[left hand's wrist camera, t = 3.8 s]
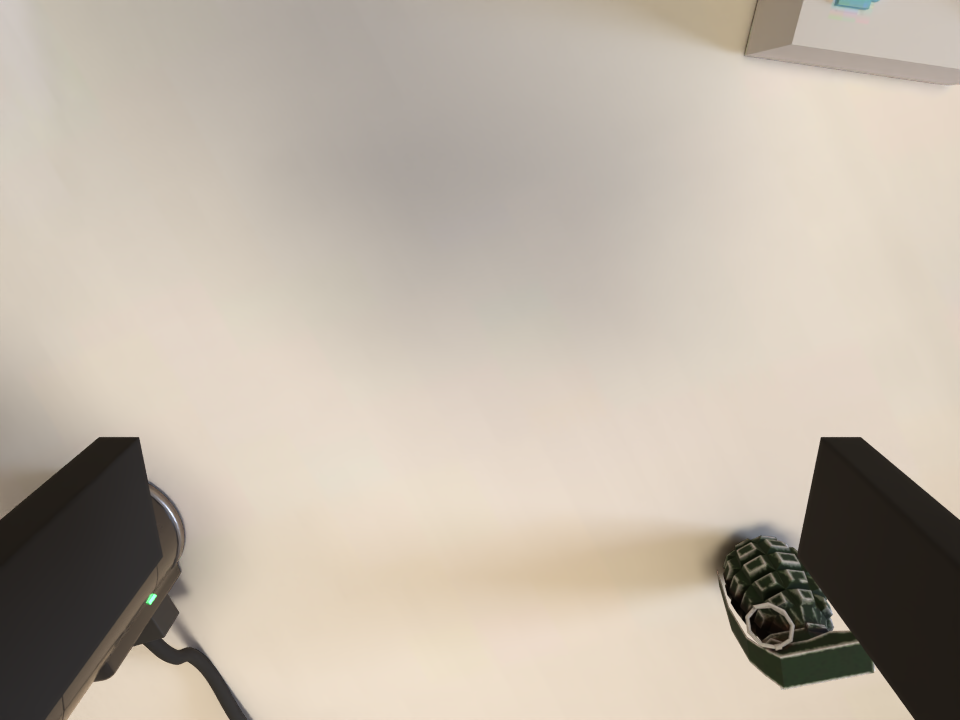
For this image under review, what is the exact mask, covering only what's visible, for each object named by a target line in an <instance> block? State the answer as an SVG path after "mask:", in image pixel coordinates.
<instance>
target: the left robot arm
mask: <svg viewBox="0 0 960 720" xmlns="http://www.w3.org/2000/svg"><path fill="white" fill-rule="evenodd" d="M162 558H163V553H162V548H161V543H160V538H159V533H158V528H157V524H156V519H155V514H154V509H153V504H152V499H151V494H150V489H149V484H148V479H147V474H146V469H145V464H144V459H143V455H142V450H141V445H140V440H139V437H99V438H98V439H96V440H95V441H94V442H93V443H92V444H91V445H89V446H88V447H87V448H86V449H85V450H83V451H82V452H81V453H80V454H79V455H77V456H76V457H75V458H74V459H73V460H71V461H70V462H69V463H68V464H67V465H65V466H64V467H63V468H62V469H61V470H59V471H58V472H57V473H56V474H55V475H53V476H52V477H51V478H50V479H49V480H47V481H46V482H45V483H44V484H43V485H42V486H40V487H39V488H38V489H37V490H36V491H34V492H33V493H32V494H31V495H30V496H28V497H27V498H26V499H25V500H24V501H22V502H21V503H20V504H19V505H18V506H16V507H15V508H14V509H13V510H12V511H10V512H9V513H8V514H7V515H6V516H4V517H3V518H2V519H1V520H0V720H45V719H46V718H47V716H48V715H49V714H50V712H51V711H52V710H53V708H54V707H55V705H56V704H57V703H58V701H59V700H60V699H61V697H62V696H63V694H64V693H65V692H66V690H67V689H68V687H69V686H70V685H71V683H72V682H73V681H74V679H75V678H76V676H77V675H78V674H79V672H80V671H81V669H82V668H83V667H84V665H85V664H86V663H87V661H88V660H89V658H90V657H91V656H92V654H93V653H94V652H95V650H96V649H97V647H98V646H99V645H100V643H101V642H102V640H103V639H104V638H105V636H106V635H107V634H108V632H109V631H110V629H111V628H112V627H113V625H114V624H115V622H116V621H117V620H118V618H119V617H120V616H121V614H122V613H123V611H124V610H125V609H126V607H127V606H128V605H129V603H130V602H131V600H132V599H133V598H134V596H135V595H136V593H137V592H138V591H139V589H140V588H141V587H142V585H143V584H144V582H145V581H146V580H147V578H148V577H149V575H150V574H151V573H152V571H153V570H154V569H155V567H156V566H157V564H158V563H159V562H160V560H161V559H162ZM797 558H798V559H799V560H800V562H801V563H802V564H803V566H804V567H805V569H806V570H807V571H808V573H809V574H810V575H811V577H812V578H813V580H814V581H815V582H816V584H817V585H818V587H819V588H820V589H821V591H822V592H823V593H824V595H825V596H826V598H827V599H828V600H829V602H830V603H831V605H832V606H833V607H834V609H835V610H836V611H837V613H838V614H839V616H840V617H841V618H842V620H843V621H844V622H845V624H846V625H847V627H848V628H849V629H850V631H851V632H852V634H853V635H854V636H855V638H856V639H857V640H858V642H859V643H860V645H861V646H862V647H863V649H864V650H865V652H866V653H867V654H868V656H869V657H870V658H871V660H872V661H873V663H874V664H875V665H876V667H877V668H878V669H879V671H880V672H881V674H882V675H883V676H884V678H885V679H886V681H887V682H888V683H889V685H890V686H891V687H892V689H893V690H894V692H895V693H896V694H897V696H898V697H899V699H900V700H901V701H902V703H903V704H904V705H905V707H906V708H907V710H908V711H909V712H910V714H911V715H912V716H913V718H914V719H915V720H960V520H959V519H958V518H957V517H956V516H954V515H953V514H952V513H951V512H950V511H948V510H947V509H946V508H945V507H944V506H942V505H941V504H940V503H939V502H938V501H936V500H935V499H934V498H933V497H932V496H930V495H929V494H928V493H927V492H926V491H924V490H923V489H922V488H921V487H920V486H918V485H917V484H916V483H915V482H914V481H913V480H911V479H910V478H909V477H908V476H907V475H905V474H904V473H903V472H902V471H901V470H899V469H898V468H897V467H896V466H895V465H893V464H892V463H891V462H890V461H889V460H887V459H886V458H885V457H884V456H883V455H881V454H880V453H879V452H878V451H877V450H875V449H874V448H873V447H872V446H871V445H869V444H868V443H867V442H866V441H865V440H864V439H862V438H861V437H821V440H820V445H819V450H818V455H817V459H816V464H815V469H814V474H813V479H812V484H811V489H810V494H809V499H808V504H807V509H806V514H805V519H804V524H803V528H802V533H801V538H800V543H799V548H798V553H797Z"/></svg>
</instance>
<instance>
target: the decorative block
mask: <svg viewBox="0 0 960 720" xmlns="http://www.w3.org/2000/svg"><path fill="white" fill-rule="evenodd" d="M744 56H750V57H757V58H764V59H771V60H778V61H785V62H791V63H798V64H805V65H812V66H819V67H825V68H832V69H839V70H846V71H853V72H860V73H866V74H873V75H880V76H887V77H894V78H901V79H907V80H914V81H921V82H928V83H935V84H941V85H957V84H960V0H758V3H757V7H756V11H755V15H754V19H753V23H752V27H751V31H750V35H749V39H748V43H747V47H746V51H745V55H744Z"/></svg>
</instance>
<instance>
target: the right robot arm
mask: <svg viewBox="0 0 960 720" xmlns="http://www.w3.org/2000/svg"><path fill="white" fill-rule="evenodd" d="M149 489H150V494H151V499H152V504H153V509H154V514H155V519H156V524H157V528H158V533H159V538H160V543H161V548H162V553H163V558H162V559H161V560H160V562H159V563H158V564H157V566H156V567H155V569H154V570H153V571H152V573H151V574H150V575H149V577H148V578H147V580H146V581H145V582H144V584H143V585H142V587H141V588H140V589H139V591H138V592H137V593H136V595H135V596H134V598H133V599H132V600H131V602H130V603H129V605H128V606H127V607H126V609H125V610H124V611H123V613H122V614H121V616H120V617H119V618H118V620H117V621H116V622H115V624H114V625H113V627H112V628H111V629H110V631H109V632H108V634H107V635H106V636H105V638H104V639H103V640H102V642H101V643H100V645H99V646H98V647H97V649H96V650H95V652H94V653H93V654H92V656H91V657H90V658H89V660H88V661H87V663H86V664H85V665H84V667H83V668H82V669H81V671H80V672H79V674H78V675H77V676H76V678H75V679H74V681H73V682H72V683H71V685H70V686H69V687H68V689H67V690H66V692H65V693H64V694H63V696H62V697H61V699H60V700H59V701H58V703H57V704H56V705H55V707H54V708H53V710H52V711H51V712H50V714H49V715H48V716H47V718H46V719H45V720H67V719H68V718H69V716H70V715H71V713H72V712H73V710H74V709H75V707H76V706H77V705H78V703H79V702H80V700H81V699H82V697H83V696H84V694H85V693H86V691H87V690H88V689H89V687H90V686H91V684H92V683H93V682H97V681H103V680H107V679H109V678H111V677H112V676H113V675H114V674H115V672H116V671H117V669H118V668H119V666H120V665H121V663H122V662H123V660H124V659H125V657H126V656H127V654H128V653H129V651H130V650H131V648H132V647H133V646H136V645H140V644H144V645H145V646H146V647H147V648H148V649H149V650H150V651H151V652H152V653H153V654H155V655H156V656H157V657H159V658H160V659H162V660H163V661H165V662H168V663H171V664H175V665H179V664H182V663H184V662H189V663H191V664H192V665H193V666H195V667H196V668H197V669H198V670H199V671H200V672H201V673H202V675H203V676H204V677H205V679H206V680H207V681H208V683H209V685H210V686H211V688H212V690H213V691H214V693H215V695H216V697H217V699H218V700H219V702H220V704H221V706H222V708H223V709H224V711H225V713H226V715H227V716H228V718H229V719H230V720H247V719H246V717H245V716H244V714H243V713H242V711H241V710H240V708H239V707H238V705H237V703H236V701H235V700H234V698H233V696H232V694H231V692H230V691H229V689H228V687H227V685H226V683H225V682H224V680H223V679H222V677H221V675H220V674H219V672H218V671H217V670H216V668H215V667H214V665H213V664H212V663H211V662H210V660H209V659H208V658H207V657H206V656H205V655H204V654H202V653H201V652H200V651H198V650H197V649H194V648H190V647H187V648H184V649H181V650H176V649H174V648H172V647H171V646H169V645H168V644H167V643H166V642H165V641H164V640H163V639H161V638H164V637H165V636H166V634H167V632H168V631H169V629H170V627H171V626H172V624H173V622H174V621H175V619H176V618H177V616H178V614H179V611H178V610H177V608H176V607H175V605H174V603H173V602H172V600H171V599H170V597H169V596H168V594H167V593H168V592H169V590H170V589H171V587H172V586H173V584H174V583H175V581H176V580H177V578H178V577H179V575H180V574H181V572H180V569H179V567H178V563H177V562H178V560H179V558H180V557H181V554H182V551H183V548H184V529H183V525H182V522H181V519H180V517H179V515H178V513H177V511H176V509H175V508H174V506H173V505H172V504H171V502H170V501H169V500H168V499H167V498H166V497H165V496H164V495H163V494H162V493H161V492H160V491H158V490H157V489H156V488H154V487H153V486H152V485H150V484H149Z"/></svg>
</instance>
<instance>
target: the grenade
mask: <svg viewBox="0 0 960 720" xmlns="http://www.w3.org/2000/svg"><path fill="white" fill-rule="evenodd" d="M797 553H798V551H797V550H795V549H794V548H793V547H788V546H787V544H786V543H783V542H782V541H777V539H776V538H775V537H769V536H759V537H757V538H755V539H752V540H750V539H746V540H744V541H742V542H741V543H739V544H737V545H735V550H733V551H732V552H731V553H729V554H728V555H727V556H726V559H725V562H724V565H723V568H724V569H725V570H724V573H723V575H724V579H725V583H726V585H725V588H726V592H727V595H728V596H729V598H730V599H731V604H732V606H733V607H734V609H735V611H736V612H737V613H738V615H739V616H740V617H741V619H742V620H743V621H744V623H745V624H746V626H747V633H748V634H749V635H750V636H751V637H752V638H753V639H754V640H755V641H756V642H757V643H758V644H759V645H758V644H757V643H755V642H754V641H752V640H751V639H749V638H748V637H747V636H746V635H745V633H744V631H743V630H742V628H741V626H740V625H739V623H738V621H737V620H736V618H735V616H734V615H733V613H732V611H731V610H730V608H729V606H728V603H727V600H726V596H725V593H724V590H723V587H722V583H721V580H720V577H719V574H718V570H717V574H718V581H719V587H720V590H721V594H722V597H723V601H724V605H725V608H726V612H727V615H728V619H729V622H730V626H731V629H732V632H733V633H734V635H735V637H736V639H737V640H738V642H739V644H740V645H741V647H742V649H743V651H744V652H745V654H746V656H747V658H748V659H749V661H750V662H751V663H752V664H753V665H754V666H755V667H756V668H757V669H758V670H760V671H761V672H762V673H763V674H764V675H765V676H766V677H768V678H769V679H771V680H772V681H773V682H775V683H776V684H777V685H779V686H780V687H781V690H782V689H784V690H786V689H791V688H796V687H802V686H807V685H812V684H818V683H823V682H828V681H833V680H839V679H844V678H849V677H855V676H860V675H865V674H871V673H874V669H875V668H874V663H873V661H872V660H871V658H870V657H869V656H868V654H867V653H866V652H865V650H864V649H863V647H862V646H861V645H860V643H859V642H858V640H857V639H856V638H855V636H854V635H853V634H852V632H851V631H833V628H834V626H833V623H832V620H831V618H830V617H831V616H832V615H833V614H832V611H831V607H830V605H829V604H828V603H827V601H826V600H827V598H826V596H825V595H824V593H823V592H822V591H821V589H820V588H819V587H818V585H817V584H816V582H815V581H814V580H813V578H812V577H811V575H810V574H809V573H808V571H807V570H806V569H805V567H804V566H803V564H802V563H801V562H800V560H799V559H798V558H797ZM751 631H752V632H753V633H754V634H753V633H752V632H751ZM756 636H758V638H759V639H760V640H761V641H760V640H759V639H758V638H757V637H756Z"/></svg>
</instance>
